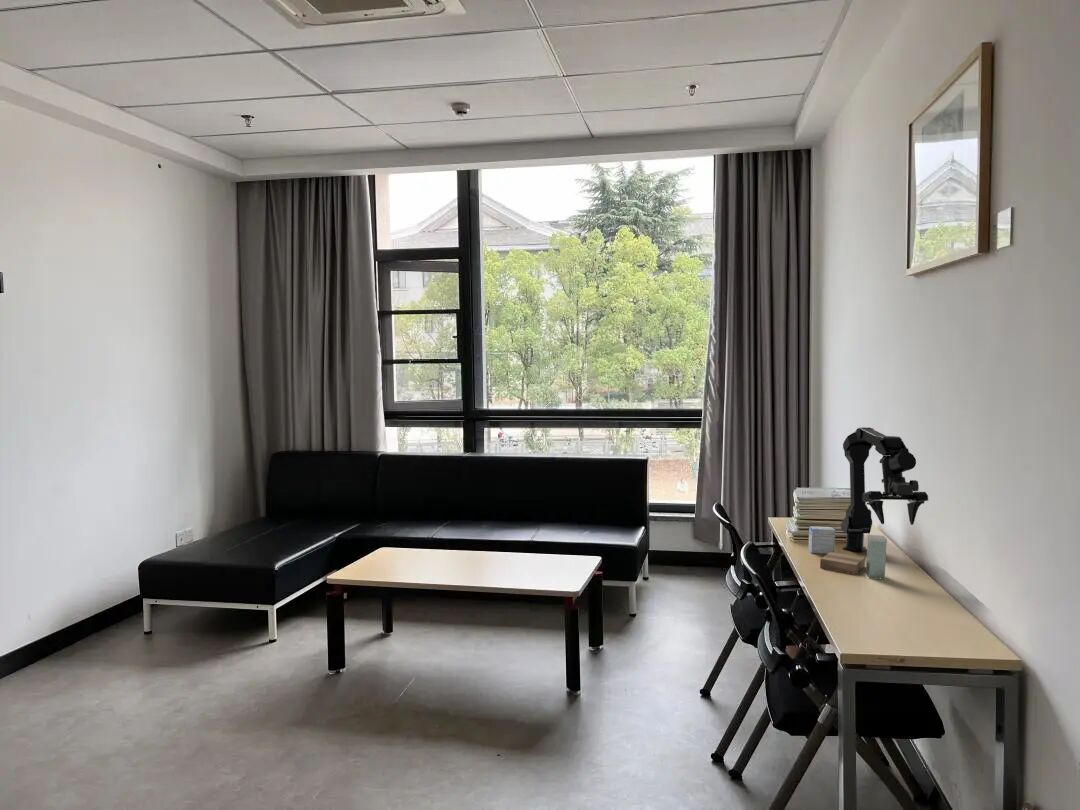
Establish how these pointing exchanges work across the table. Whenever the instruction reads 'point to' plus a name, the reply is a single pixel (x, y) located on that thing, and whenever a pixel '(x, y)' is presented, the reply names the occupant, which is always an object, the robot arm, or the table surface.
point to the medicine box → (821, 540)
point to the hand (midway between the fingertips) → (897, 524)
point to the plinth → (842, 562)
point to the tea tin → (876, 556)
